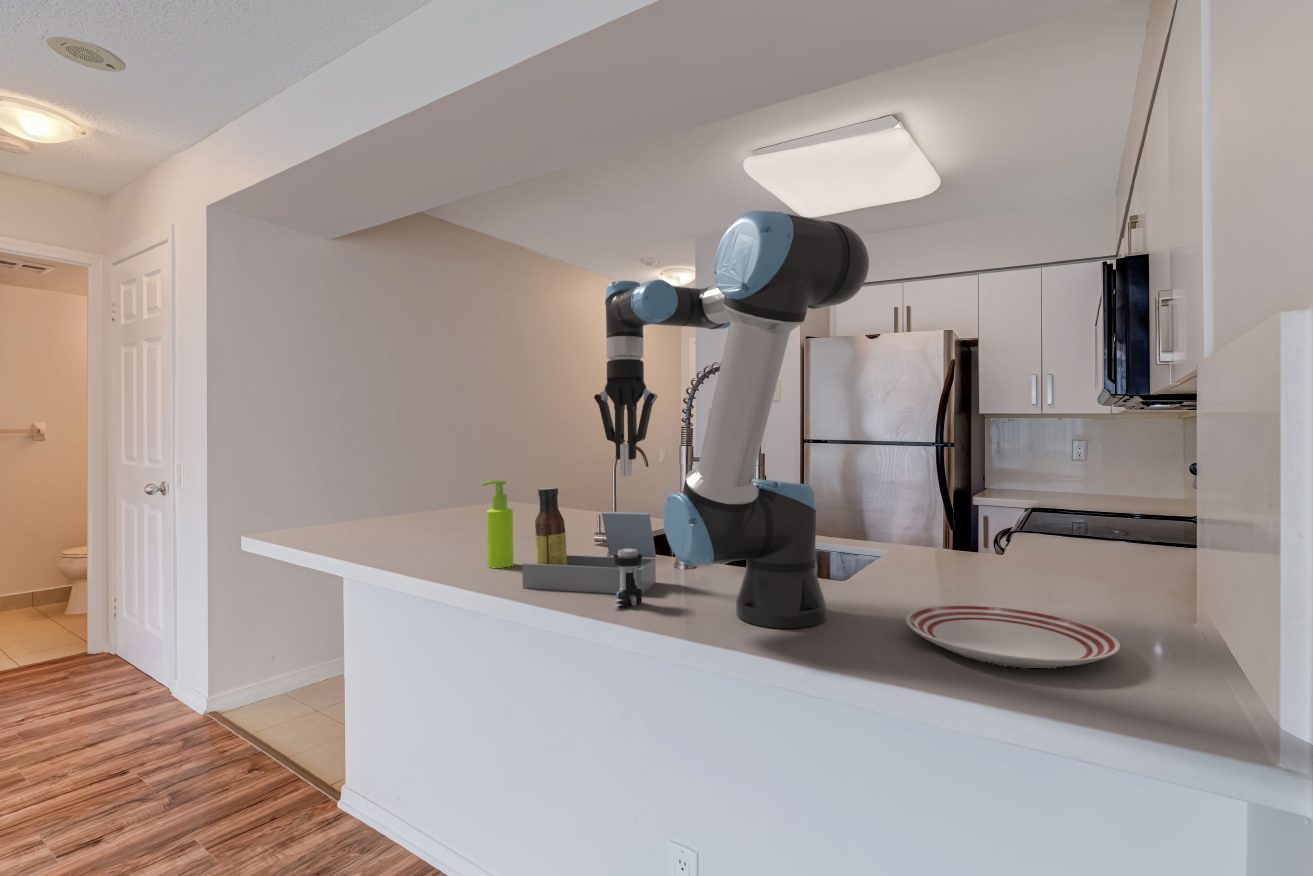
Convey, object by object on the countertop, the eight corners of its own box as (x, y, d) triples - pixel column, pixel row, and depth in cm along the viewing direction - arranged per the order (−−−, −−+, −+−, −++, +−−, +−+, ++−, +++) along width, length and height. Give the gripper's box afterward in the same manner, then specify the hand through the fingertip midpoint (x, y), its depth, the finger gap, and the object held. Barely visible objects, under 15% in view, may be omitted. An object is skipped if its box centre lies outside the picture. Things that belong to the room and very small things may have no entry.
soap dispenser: (481, 565, 156) (479, 480, 155) (510, 562, 159) (509, 479, 158) (485, 570, 150) (484, 482, 150) (515, 567, 153) (514, 480, 153)
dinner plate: (936, 610, 116) (936, 591, 116) (1128, 642, 98) (1128, 619, 98) (877, 654, 95) (877, 631, 95) (1108, 704, 77) (1108, 676, 77)
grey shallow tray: (655, 582, 137) (655, 558, 137) (641, 595, 127) (641, 569, 127) (544, 576, 144) (544, 553, 144) (522, 588, 134) (522, 563, 133)
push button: (624, 612, 116) (624, 555, 115) (602, 607, 119) (601, 552, 119) (649, 604, 121) (648, 549, 121) (627, 599, 124) (626, 546, 124)
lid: (655, 557, 137) (655, 555, 137) (648, 514, 132) (649, 512, 133) (609, 555, 139) (610, 553, 140) (601, 513, 135) (602, 511, 135)
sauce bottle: (570, 579, 140) (569, 486, 140) (563, 586, 134) (562, 489, 134) (540, 579, 141) (539, 486, 141) (532, 586, 135) (530, 489, 134)
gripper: (661, 360, 136) (662, 474, 137) (600, 362, 139) (602, 474, 140) (651, 356, 129) (652, 477, 129) (588, 359, 132) (589, 476, 133)
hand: (626, 475), depth 135 cm, fingers closed
